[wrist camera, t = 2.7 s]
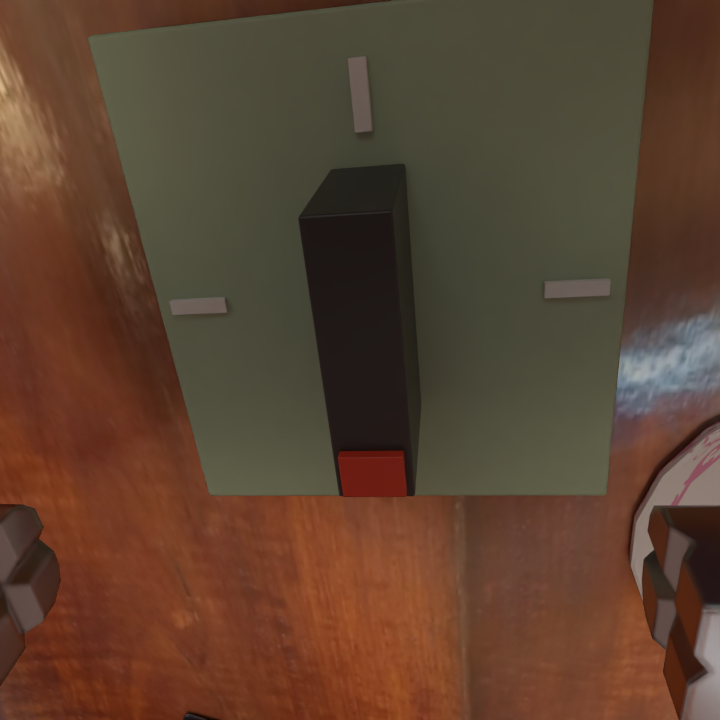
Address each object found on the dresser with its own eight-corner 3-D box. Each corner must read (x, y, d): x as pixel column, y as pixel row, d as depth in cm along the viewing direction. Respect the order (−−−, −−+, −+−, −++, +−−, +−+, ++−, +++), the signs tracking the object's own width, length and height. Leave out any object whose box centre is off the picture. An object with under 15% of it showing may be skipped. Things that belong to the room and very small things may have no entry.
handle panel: (144, 29, 16) (81, 36, 13) (620, -26, 14) (660, -31, 12) (237, 436, 22) (207, 500, 19) (586, 431, 20) (608, 500, 17)
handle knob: (329, 168, 14) (294, 220, 11) (404, 162, 14) (391, 214, 11) (358, 406, 17) (337, 505, 14) (421, 405, 17) (414, 505, 13)
